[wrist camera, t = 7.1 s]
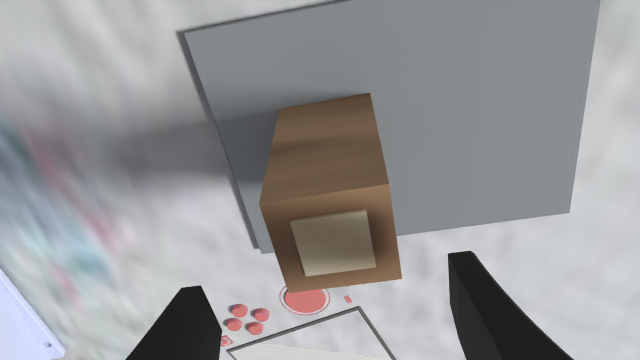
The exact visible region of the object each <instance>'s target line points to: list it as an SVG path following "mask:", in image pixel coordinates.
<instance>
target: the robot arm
mask: <svg viewBox="0 0 640 360" xmlns="http://www.w3.org/2000/svg"><path fill="white" fill-rule="evenodd" d="M448 267H449V290H450V305H451V309H452V313H453V318H454V322H455V326H456V329H457V333H458V337H459V340H460V343H461V346H462V349H463V351H464V354H465V357H466V360H574V359H572V358H571V357H570V356H569V355H568V354H567V353H565V352H564V351H563V350H562V349H561V348H560V347H559V346H558V345H557V344H556V343H554V342H553V341H552V340H551V339H550V338H549V337H548V336H547V335H546V334H545V333H544V332H543V331H542V330H541V329H540V328H539V327H538V326H537V325H536V324H535V323H534V322H533V321H532V320H531V319H530V318H529V317H528V316H527V315H526V314H525V313H524V312H523V311H522V310H521V309H520V308H519V307H518V306H517V305H516V303H515V302H514V301H513V300H512V299H511V298H510V297H509V296H508V295H507V294H506V292H505V291H504V290H503V289H502V288H501V287H500V286H499V284H498V283H497V282H496V281H495V280H494V278H493V277H492V276H491V275H490V274H489V272H488V271H487V270H486V268H485V267H484V266H483V265H482V263H481V262H480V261H479V259H478V258H477V256H476V255H475V254H474V253H473V252H472V251H465V252H457V253H449V254H448ZM221 335H222V329H221V327H220V325H219V323H218V321H217V318H216V316H215V314H214V312H213V310H212V308H211V306H210V304H209V302H208V299H207V297H206V295H205V293H204V291H203V289H202V287H201V285H200V286H192V287H185V288H181V289H180V290H179V292H178V293H177V294H176V295H175V297H174V298H173V299H172V301H171V302H170V303H169V305H168V306H167V307H166V309H165V310H164V311H163V312H162V314H161V315H160V316H159V318H158V319H157V320H156V322H155V323H154V324H153V326H152V327H151V328H150V330H149V331H148V332H147V333H146V335H145V336H144V337H143V338H142V340H141V341H140V342H139V344H138V345H137V346H136V347H135V349H134V350H133V351H132V352H131V354H130V355H129V356H128V357H127V358H126V359H125V360H219V354H220V345H221ZM65 352H66V350H65V348H64V347H63V346H62V344H61V343H60V342H59V341H58V339H57V338H56V337H55V336H54V334H53V333H52V332H51V331H50V329H49V328H48V327H47V326H46V324H45V323H44V322H43V321H42V319H41V318H40V317H39V316H38V314H37V313H36V312H35V311H34V310H33V308H32V307H31V306H30V305H29V303H28V302H27V301H26V300H25V298H24V297H23V296H22V295H21V293H20V292H19V291H18V290H17V288H16V287H15V286H14V285H13V283H12V282H11V281H10V280H9V278H8V277H7V276H6V275H5V273H4V272H3V271H2V270H1V268H0V360H51V359H58V358H62V357H63V356H64V354H65Z"/></svg>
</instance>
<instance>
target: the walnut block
mask: <svg viewBox="0 0 640 360" xmlns="http://www.w3.org/2000/svg"><path fill="white" fill-rule="evenodd" d="M259 206H260V209H261V212H262V215H263V218H264V221H265V224H266V227H267V230H268V233H269V236H270V239H271V242H272V245H273V248H274V251H275V254H276V257H277V260H278V263H279V266H280V269H281V272H282V275H283V277H284V280H285V283H286V286H287V289H288V292H289V293H295V292H303V291H311V290H319V289H327V288H334V287H342V286H350V285H358V284H366V283H374V282H381V281H389V280H397V279H402V275H401V268H400V260H399V253H398V246H397V238H396V231H395V223H394V216H393V208H392V201H391V194H390V186H389V181H388V176H387V171H386V166H385V161H384V157H383V152H382V147H381V142H380V137H379V133H378V128H377V123H376V118H375V114H374V109H373V104H372V99H371V94H370V93H366V94H360V95H355V96H349V97H343V98H338V99H332V100H327V101H321V102H315V103H310V104H304V105H299V106H293V107H287V108H282V109H279V113H278V117H277V122H276V127H275V131H274V136H273V140H272V145H271V149H270V154H269V159H268V163H267V168H266V172H265V177H264V182H263V186H262V191H261V195H260V200H259Z"/></svg>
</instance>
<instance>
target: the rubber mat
mask: <svg viewBox="0 0 640 360" xmlns="http://www.w3.org/2000/svg"><path fill="white" fill-rule="evenodd" d="M599 6H600V0H340V1H335V2H330V3H325V4H320V5H315V6H310V7H305V8H300V9H295V10H290V11H285V12H280V13H275V14H269V15H264V16H259V17H254V18H249V19H244V20H239V21H234V22H229V23H224V24H219V25H214V26H209V27H204V28H199V29H193V30H188V31H186V32H185V33H184V35H185V38H186V41H187V43H188V46H189V49H190V52H191V55H192V58H193V61H194V63H195V66H196V69H197V72H198V75H199V78H200V80H201V83H202V86H203V89H204V92H205V95H206V97H207V100H208V103H209V106H210V109H211V112H212V115H213V117H214V120H215V123H216V126H217V129H218V132H219V134H220V137H221V140H222V143H223V146H224V149H225V151H226V154H227V157H228V160H229V163H230V166H231V169H232V171H233V174H234V177H235V180H236V183H237V186H238V188H239V191H240V194H241V197H242V200H243V203H244V205H245V208H246V211H247V214H248V217H249V220H250V223H251V225H252V228H253V231H254V234H255V237H256V240H257V242H258V245H259V248H260V251H261V254H265V253H273V252H275V251H274V248H273V245H272V242H271V239H270V236H269V233H268V230H267V227H266V224H265V221H264V218H263V215H262V212H261V209H260V206H259V200H260V195H261V191H262V186H263V182H264V177H265V172H266V168H267V163H268V159H269V154H270V149H271V145H272V140H273V136H274V131H275V127H276V122H277V117H278V113H279V109H282V108H287V107H293V106H299V105H304V104H310V103H315V102H321V101H327V100H332V99H338V98H343V97H349V96H355V95H360V94H366V93H370V94H371V99H372V104H373V109H374V114H375V118H376V123H377V128H378V133H379V137H380V142H381V147H382V152H383V157H384V161H385V166H386V171H387V176H388V181H389V186H390V194H391V201H392V208H393V216H394V223H395V231H396V236H400V235H407V234H415V233H422V232H429V231H437V230H444V229H452V228H459V227H467V226H474V225H482V224H489V223H497V222H504V221H511V220H519V219H526V218H534V217H541V216H549V215H556V214H564V213H569V211H570V205H571V198H572V191H573V184H574V177H575V170H576V164H577V157H578V150H579V143H580V136H581V129H582V123H583V116H584V109H585V102H586V95H587V88H588V82H589V75H590V68H591V61H592V54H593V47H594V41H595V34H596V27H597V20H598V13H599Z"/></svg>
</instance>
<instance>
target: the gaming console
mask: <svg viewBox="0 0 640 360" xmlns="http://www.w3.org/2000/svg"><path fill="white" fill-rule="evenodd" d="M285 287H286V286H285ZM285 287H284V288H285ZM284 288H283V289H284ZM283 289H282V290H283ZM326 290H327V289H326ZM327 291H328V290H327ZM281 292H282V291H281ZM328 293H329V292H328ZM280 294H281V293H280ZM329 297H330V294H329ZM344 298H345V299H346V301H347V302H348V303H351V302H352V300H351V299H350V298H349V296H345V297H344ZM325 300H326V298H325V294H324V292H323V291H322V290H321V289H319V290H311V291H303V292H295V293H289V292H288V291H287V292H286V295H285V301H286V304H287V305H285V304H282V305H283V306H284V307H285V308H286V309H287V310H288V311H290V312H292V313H295V314H299V315H313V314H317V313H319V312H321V311H323V310H324V309H321V308H322V307H323V306H324V304H325ZM280 301H281V299H280ZM329 302H330V300H329ZM281 303H282V302H281ZM328 304H329V303H328ZM327 306H328V305H327ZM327 306H326V307H327ZM356 310H359V311H360V313H361V314H362V316H363V317H364V319H365V320H366V321H367V323H368V324H369V326H370V327H371V329H372V330H373V332H374V333H375V335H376V336H377V337H378V339H379V340H380V342H381V343H382V345H383V346H384V348H385V349H386V350H387V352H388V353H389V355H390V356H391V358H392V359H388V358H380V357H372V356H363V355H355V354H347V353H339V352H330V351H322V350H314V349H306V348H298V347H290V346H281V345H273V344H265V343H260V342H263V341H266V340H269V339H272V338H275V337H278V336H281V335H284V334H287V333H290V332H293V331H296V330H299V329H302V328H305V327H308V326H311V325H314V324H317V323H320V322H323V321H326V320H329V319H332V318H335V317H338V316H341V315H344V314H347V313H350V312H353V311H356ZM247 311H248V309H247V307H246V306H245V305H243V304H236V305H234V306H233V308H232V314H233V315H234V316H235V317H244V316H245V315H246V313H247ZM254 315H255V319H256V320H258V321H261V322H263V321H266V320H267V319H268V317H269V311H268V310H266V309H263V308H259V309H257V310H256V311H255V313H254ZM241 325H242V322H241V321H240V320H239V319H236V318H231V319H229V320H228V321H227V328H228V329H229V330H231V331H238V330H239V329H240V328H241ZM248 329H249V332H250V333H251V334H253V335H259V334H261V333H262V331H263V325H262V324H261V323H259V322H253V323H250V324H249V326H248ZM232 343H233V341H232V340H231V339H230V338H229V337H228V336H227V335H226V336H223V337H221V346H222V347H223V346H226V345H229V344H232ZM227 352H228V353H229V354H230V355H231V356H232V357H233V358H234V359H235V360H396V358H395V357H394V356H393V354H392V353H391V351H390V350H389V348H388V347H387V345H386V344H385V342H384V341H383V339H382V338H381V337H380V335H379V334H378V332H377V331H376V329H375V328H374V326H373V325H372V323H371V322H370V320H369V319H368V318H367V316H366V315H365V313H364V312H363V310H362V309H361V307H360V306H358V307H355V308H352V309H349V310H346V311H343V312H340V313H337V314H334V315H331V316H328V317H325V318H322V319H319V320H315V321H312V322H309V323H306V324H303V325H300V326H297V327H294V328H291V329H288V330H285V331H282V332H279V333H276V334H273V335H270V336H267V337H264V338H261V339H258V340H255V341H252V342H249V343H246V344H243V345H240V346H237V347H234V348H231V349H228V350H227Z"/></svg>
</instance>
